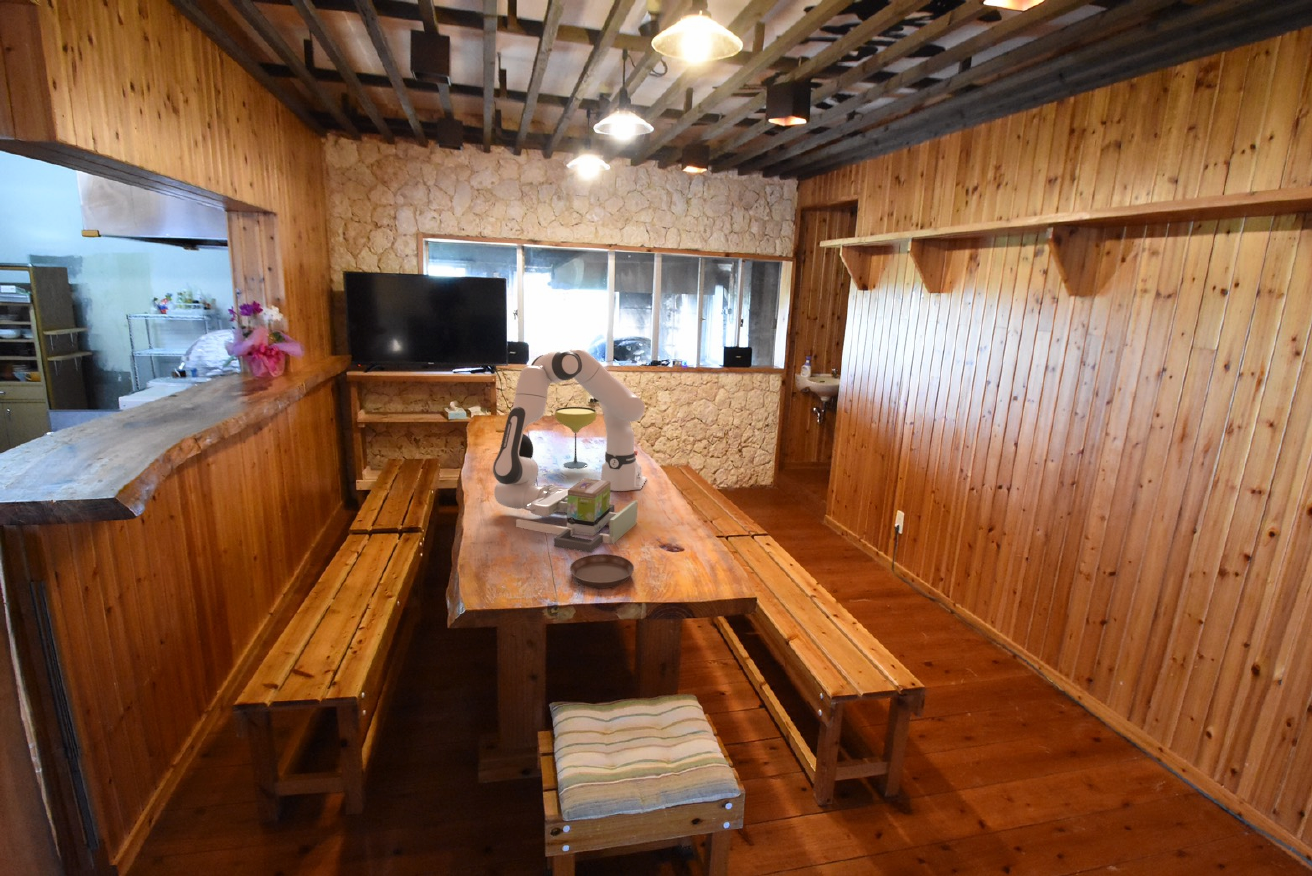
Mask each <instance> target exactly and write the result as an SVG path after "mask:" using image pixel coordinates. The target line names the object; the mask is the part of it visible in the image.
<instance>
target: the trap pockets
mask: <svg viewBox="0 0 1312 876" xmlns="http://www.w3.org/2000/svg"><path fill="white" fill-rule="evenodd" d="M615 508H616V507H615V504H611V503H610V512H613V513H616V512H615ZM553 544H554V545H553V546H554V547H558V548H563V549H568V548H569V550H574V549H575V550H574V551H579V550H580V552H585V553H592V552H594V550H596V549H597V548H598V547H599V546H600V545H601V544H604V543H603V535H599V534H597V535H596V536H594V538H593V539H589V538H584V537H579V536H578V537H577V536H573V535H572V536H571V530H570V529H567V530H565V531H564V532H562V533H561V534H560V535H557V536H556V537H554V538H553ZM595 548H596V549H595Z"/></svg>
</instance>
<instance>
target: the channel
mask: <svg viewBox="0 0 1312 876" xmlns="http://www.w3.org/2000/svg"><path fill="white" fill-rule="evenodd" d="M556 512H558V513H564V512H565V514H567V508H565V509H559V510H558V511H556ZM637 521H638V500H632V501H631V502H630V503H629V504H628V505H627V506H625V507H624V508H622V509H621V510H619V512H610V515H609V533H608V534H607V533H602V532H600V533H599V534H598V535H603V543H602V544H609V545H614V544H615V543H616V542H617V541H618V540H619V539H621V538H622V537H623V536H624V535H625V534H626V533H627V532H629V530H631V529H632V528H633V527H635V526H636V524H638V523H637ZM515 523H516V524H515V526H516V528H517V527H521V528H520V529H523V528H524V530H530V531H536V532H540V533H541V532H542V533H547V534H551V533H552V535H557V536H558V535H560V534H561V533H562V532H564V531H565V530H567V529H570V530H571V536H573V533H572V528H568V527H567V526H560V525H556V524H549V523H543V522H539V521H538V522H537V521H531V520H526V519H522V518H521V519H520V518H518V519H516V521H515Z"/></svg>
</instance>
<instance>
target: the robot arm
mask: <svg viewBox="0 0 1312 876" xmlns="http://www.w3.org/2000/svg"><path fill="white" fill-rule="evenodd" d="M571 379H574V380H575V381H576V382H577V384H579V385H580V386H581V387H582V388H583V389H584V390H585V391H586V392H587V393H588V394H589V395H590V396H591V397H593V398H594V399H595V400H596V401H598V404H599V407H600V409H601V411H602V416H603V421H604V425H605V431H606V433H605V434H606V447H605V448H606V451H605V455H604V460H605V462H604V463H602V464H601V475H600V476H601V477H600V480H603V481H610V482H611V487H610V491H613V492H617V491H618V492H627V491H633V490H634V491H635V490H641V488H643V487H644V485H645V484H646V482H647V479H648V478H647V476H644V475H642V466H641V465H640V464H639V463H638V461H637V459H636V458H637V456H638V450H635V431H634V430H633V427H632V424H631V422H636V421H639V420H640V419H641V418H642V417H643V416H644V414H645V410H646V408H645V403H644V400H642V398H640V397H639V396H638V395H636V394H635V393H634V392H633V391H632V390H630V389H629V388H628V387H627V385H625V384H624V383H622V382H621V381H620V380H618V379H617V378H616V377H614V376H613V375H612V374H611V373H610V372H609V370H607V369H606V368H605V366H603V365H602V364H601V363H600V362H599V361H598V360H597V359H596V358H595V357H594V356H593V355H591V354H590V353H589V352H588V351H586V350H585V349H583V348H581V347H573V348H571V349H569V350H565V349H564V350H559V351H551V352H548V353H547V354H542V355H539V356H537V357H536V358H535V359H534V360H533V361H532V363H531V364H530V365H528V366H525V367H523V368H522V369H521V371H520V373H519V376H518V380H517V384H516V387H515V388H516V389H515V392H514V393H515V395H514V399H513V400H514V401H513V405H512V408H511V410H510V411H509V413H508V416H507V418H506V423H505V426H504V432H503V436H502V440H501V443H500V447H499V451H498V454H497V456H496V458H495V459H494V463H493V466H492V472H493V476H494V478H495V479H496V481H497V482H498V483H496V484H495V486H494V490H493V491H494V492H493V493H494V494H493V495H494V499H495V500H496V503H498V504H499V505H501V506H503V507H507V508H510V509H511V508H512V509H515V510H516V509H517V510H520V509H522V510H525V511H528V512H530V513H531V514H533V515H536V516H539V517H545V518H546V517H550V516H551V515H553V514H555V513H556V512H557V511H558V510H559V509H565V508H567V502H568V490H569V489H570V488H571V487H570V488H569V487H565V486H556V485H555V484H553V483H549V484H545V485H536V482H537V480H538V476H539V466H538V464H537V462H536V461H535V460H534V459H533V458H526V457H520V456H519V450H520V445H521V441H522V436H523V434H524V432H525V430H526V428H527V427H528V426H529V425H531V424H533V423H536V422H538V421H539V420H540V419H542V417H544V415H545V414H544V413H545V412H546V408H547V400H548V390H549V387H550V385H551V384H557V383H558V384H559V383H561V382H564V381H569V380H571ZM645 481H646V482H645ZM644 483H645V484H644ZM642 486H643V487H642Z"/></svg>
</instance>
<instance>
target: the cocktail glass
mask: <svg viewBox="0 0 1312 876" xmlns="http://www.w3.org/2000/svg"><path fill="white" fill-rule="evenodd" d="M554 417H555V420H556V421H557V422H558V423H559V424H561V425H563V426H565V427H567V428H569V429H570V430H571V432H573V433H574V458H573V461H567V462H564V463H563V465H564V466H565V468H567V467H569V468H568V469H574V468H577V469H583V468H582V467H584V466H585V465H587V466H588V463H586V462H584V461H578V460H577V459H578V458H577V434H578V433H579V432H580V431H581V429H583V428H585V427H587V426H588V425H589V426H590V425H591V424H593V422H595V421H596V418H597V410H596V409H594V408H591V407H585V406H584V407H583V406H566V407H559V408H556V409H555V413H554ZM564 466H563V467H564ZM584 468H585V467H584Z"/></svg>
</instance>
